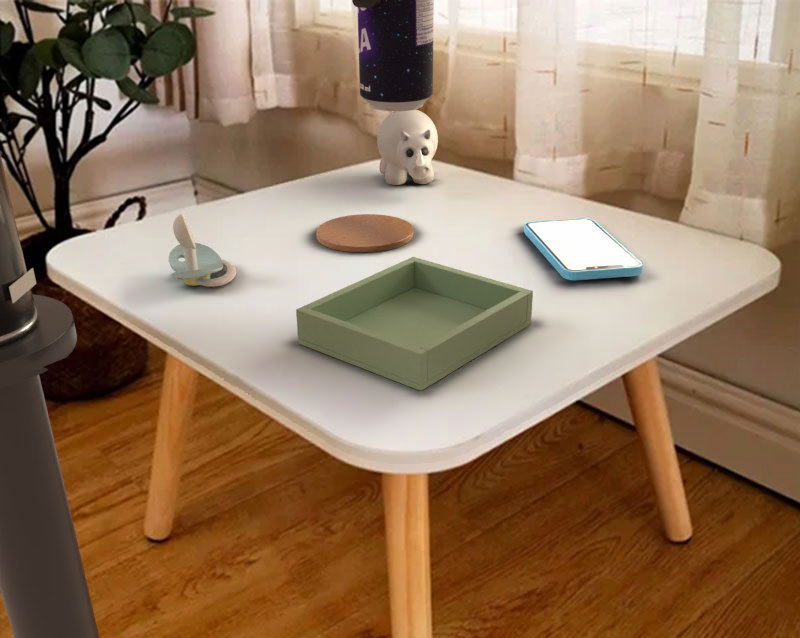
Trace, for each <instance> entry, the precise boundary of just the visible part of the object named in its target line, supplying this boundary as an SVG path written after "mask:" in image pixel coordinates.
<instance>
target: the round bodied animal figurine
mask: <svg viewBox="0 0 800 638" xmlns="http://www.w3.org/2000/svg"><path fill="white" fill-rule="evenodd" d="M438 135H439V134H438V131H437V127H436V125H435V124H434V122H433V120H432V118H430V117H429V116H428V115H427V114H426V113H425V112H423V111H421V110H418V109H415V110H409V111H391V113H389V114H388V115H386V116H385V118H384V119H383V120H382V121H381V123H380V125H379V127H378V130H377V136H376V146H377V149H378V152H379V154H380V157H381V158H380V161H379V172H380V174H381V175H384V179H385V182H386V183H387V184H389V185H394V186H399V185H404V184H405V183H406V182H407V180H408V177H412V178H411V179H412V181H413V183H415V184H418V185H427V184H429V183H432V182H433V181H434V179H435V178H434V177H435V176H434V175H435V172H434V168H433V164H432V160H433V158H434V156H435V154H436V152H437V149H438V145H439V136H438Z"/></svg>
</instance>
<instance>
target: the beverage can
mask: <svg viewBox="0 0 800 638" xmlns="http://www.w3.org/2000/svg"><path fill="white" fill-rule="evenodd" d="M434 3H435V2H434V0H381V4H380V6H379V7H377V8H360V7H356V9H357V36H358V37H357V39H358V43H357V44H358V73H359V78H358V79H359V95H360V96H361V98H362V99H363V100H365V101H366V102H367V103H368V104H369V107H370V108H371V109H374V110H378V111H383V112H394V111H409V110H415V109H416V110H418V109H421V108H422V107H423V106H424V104H425V103H426V102H427V100H429V99H430V98H431V97H432V96H433V94H434V12H435V11H434Z"/></svg>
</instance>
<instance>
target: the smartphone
mask: <svg viewBox="0 0 800 638" xmlns="http://www.w3.org/2000/svg"><path fill="white" fill-rule="evenodd" d="M523 234H524V235H525V236H526V237H527V238H528V239H529V240H530V242H531V243H532V244H533V245H534V246H535V247H536V248H537V250H538V251H539V252H540V253H541V254H542V255H543V257H544V258H545V259H546V260H547V261H548V263H549V264H550V265H551V266H552V267H553V268H554V269H555V271H556V272H557V273H558V274H559V275H560V276H561V277H562V278H563V279H565V280H569V281H585V280H598V279H611V278H623V277H624V278H625V277H626V278H632V277H636V276H640V275H642V273H643V267H644V266H643V265H644V264H643V262H642V261H641V260H640V259H639V258H638V257H636V256H635V255H634V254H633V253H632V252H631V251H630V250H629V249H627V248H626V247H625V246H624V245H623V244H622V243H621V242H620V241H618V240H617V238H615V237H614V236H613V235H612V234H610V232H608V231H607V230H606V229H605V228H604V227H603V226H602V225H600V223H598V222H597V221H596V220H595V219H592V218H586V217H581V218H566V219H565V218H564V219H550V220H549V219H548V220H536V221H527V222H525V223H524V226H523Z"/></svg>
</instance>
